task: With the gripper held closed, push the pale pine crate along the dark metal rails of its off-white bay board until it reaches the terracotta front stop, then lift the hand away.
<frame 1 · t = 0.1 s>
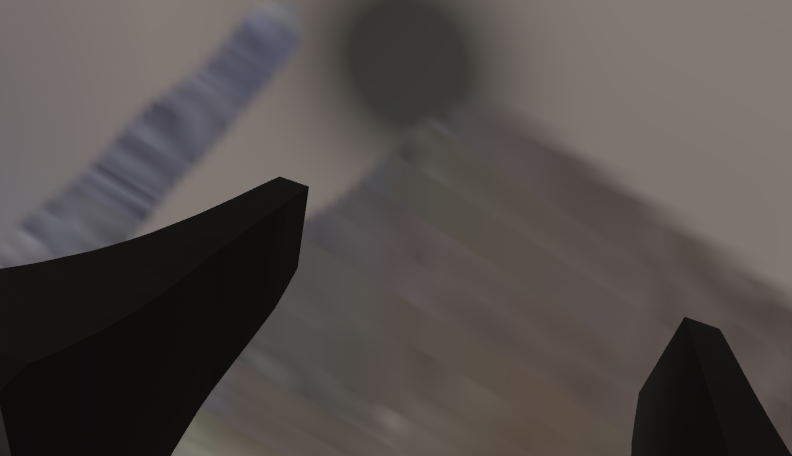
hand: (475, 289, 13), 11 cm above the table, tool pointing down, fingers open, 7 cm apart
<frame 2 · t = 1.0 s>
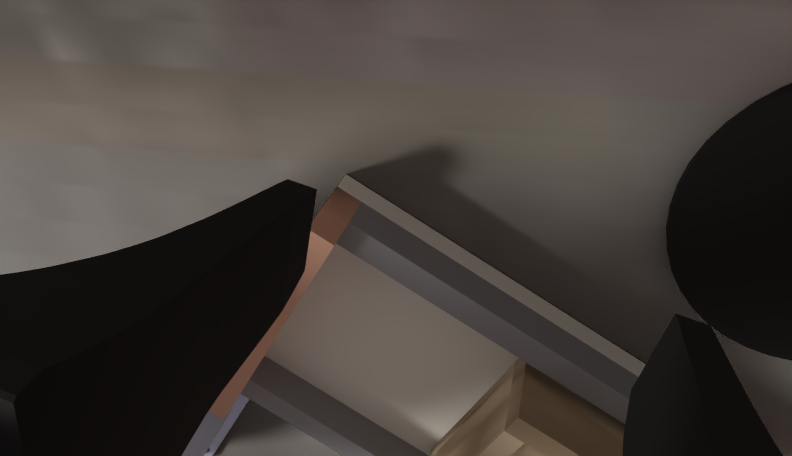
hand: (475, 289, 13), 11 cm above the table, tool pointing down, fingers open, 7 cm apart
crate bay: (490, 390, 29), on the table
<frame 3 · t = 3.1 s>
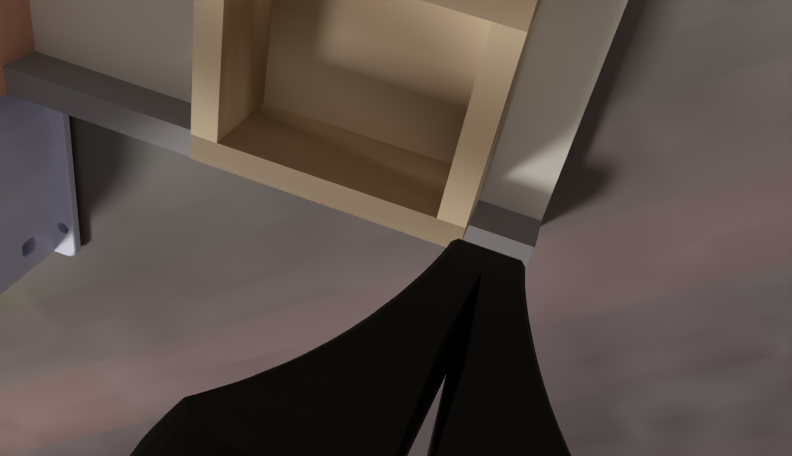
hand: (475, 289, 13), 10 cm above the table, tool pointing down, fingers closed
crate: (362, 65, 19), point 3 cm above the table, slide at 0.0 cm
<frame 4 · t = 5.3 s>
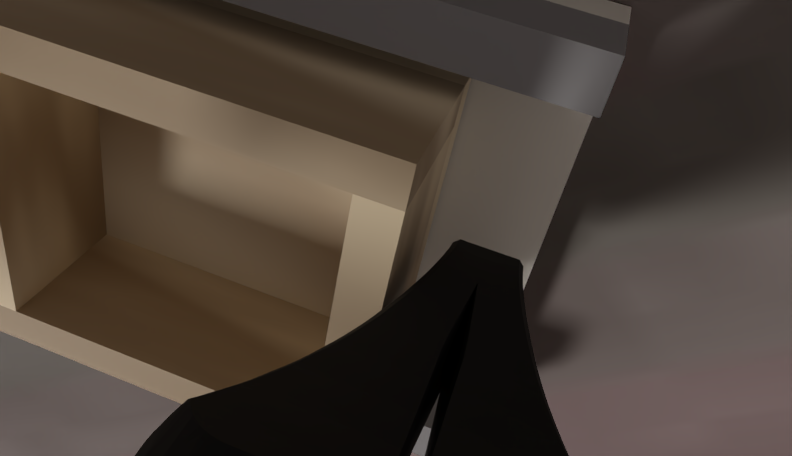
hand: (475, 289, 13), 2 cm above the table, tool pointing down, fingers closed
crate bay: (142, 101, 16), on the table
crate: (208, 210, 14), point 3 cm above the table, slide at 0.2 cm, touching gripper
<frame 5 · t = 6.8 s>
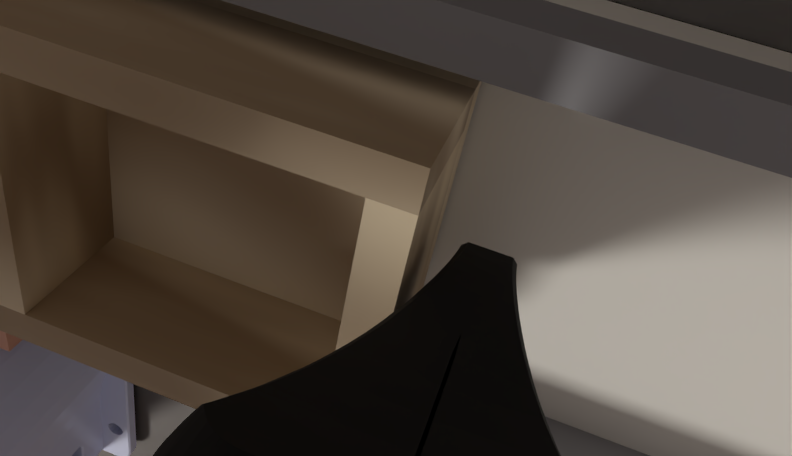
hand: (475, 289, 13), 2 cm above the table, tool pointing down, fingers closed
crate bay: (454, 207, 15), on the table
crate: (217, 213, 14), point 3 cm above the table, slide at 7.6 cm, touching gripper
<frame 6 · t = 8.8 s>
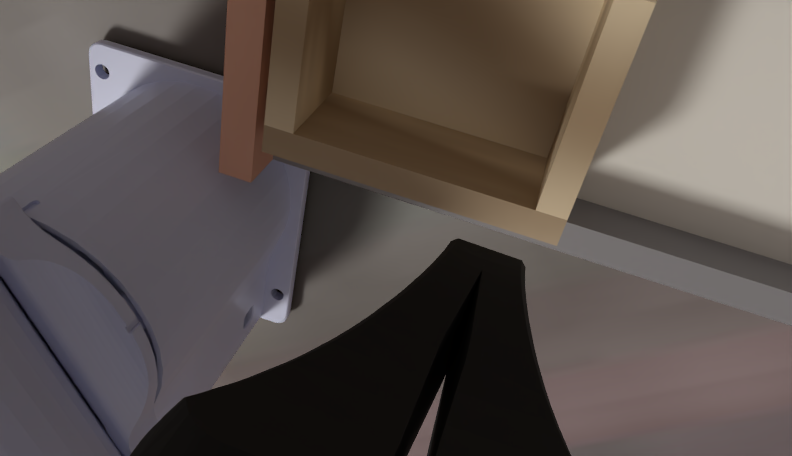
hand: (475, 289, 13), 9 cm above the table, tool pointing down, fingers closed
crate bay: (612, 55, 19), on the table
crate: (451, 47, 18), point 3 cm above the table, slide at 7.5 cm
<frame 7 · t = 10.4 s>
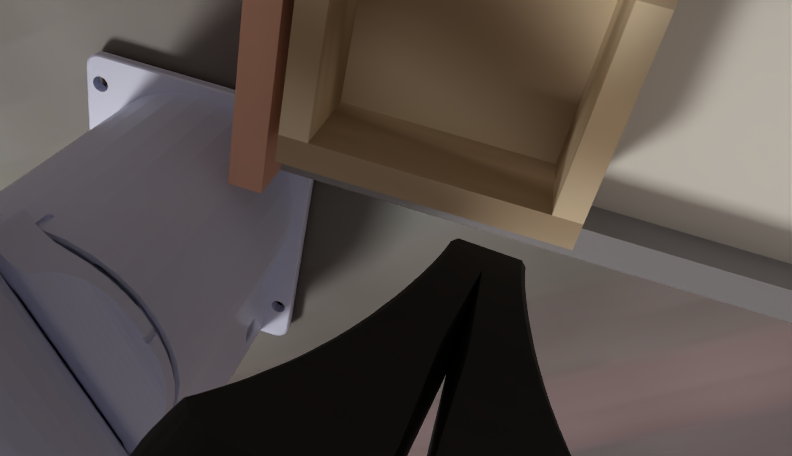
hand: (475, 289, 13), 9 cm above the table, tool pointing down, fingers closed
crate bay: (617, 62, 20), on the table
crate: (465, 55, 18), point 3 cm above the table, slide at 7.5 cm
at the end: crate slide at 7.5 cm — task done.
